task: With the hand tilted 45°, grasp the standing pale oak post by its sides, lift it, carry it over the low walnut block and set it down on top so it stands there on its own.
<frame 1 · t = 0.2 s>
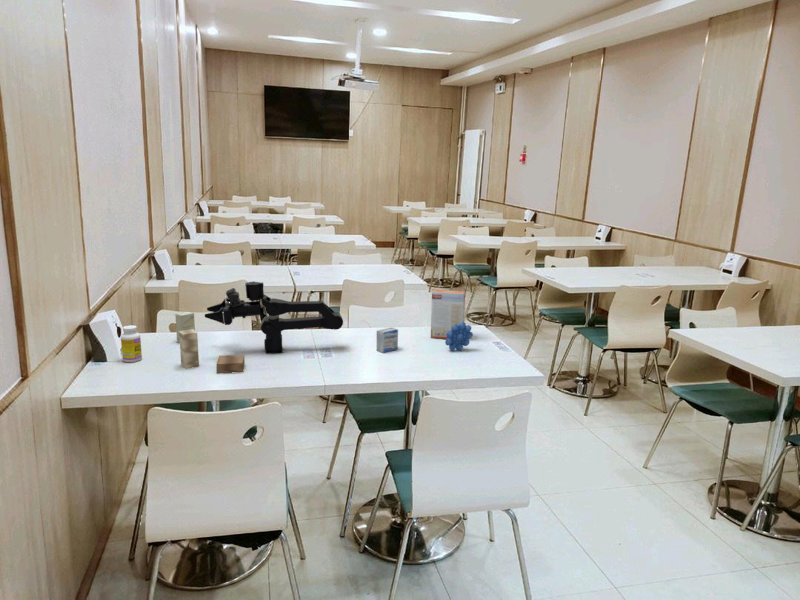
hand: (205, 312, 226), 17 cm above the table, tool horizontal, fingers open, 9 cm apart
skincare box: (186, 342, 243), on the table
oak post: (190, 365, 216), on the table
walnut block: (231, 369, 214), on the table
medicine box: (387, 350, 239), on the table
supplement bottle: (132, 360, 220), on the table
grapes: (457, 350, 242), on the table
cracker box: (447, 338, 258), on the table
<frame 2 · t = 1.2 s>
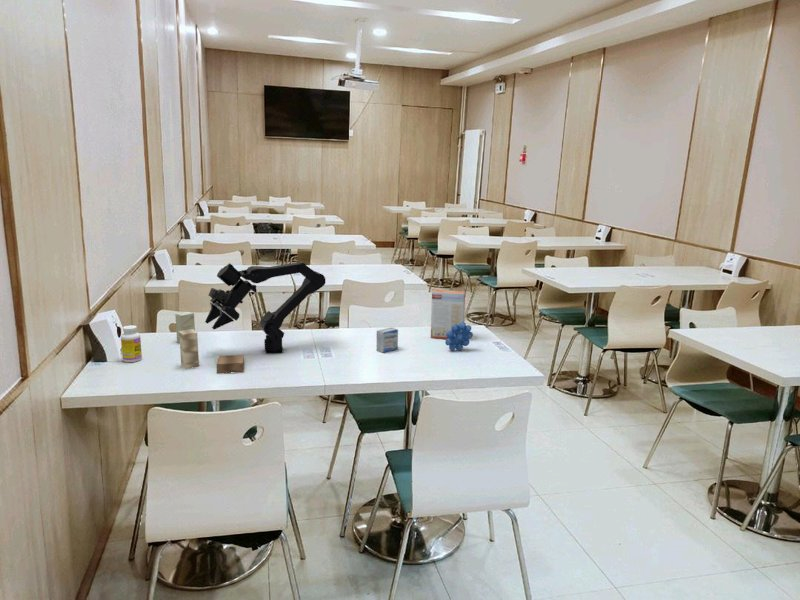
hand: (209, 325, 219), 14 cm above the table, tool tilted 45°, fingers open, 9 cm apart
nothing on the table moved.
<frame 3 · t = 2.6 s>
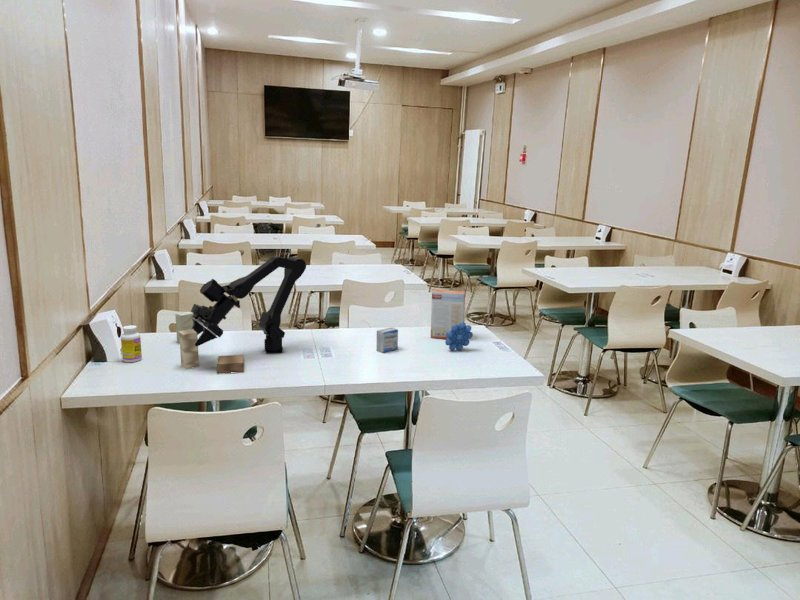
hand: (191, 342, 214), 9 cm above the table, tool tilted 45°, fingers open, 9 cm apart
nothing on the table moved.
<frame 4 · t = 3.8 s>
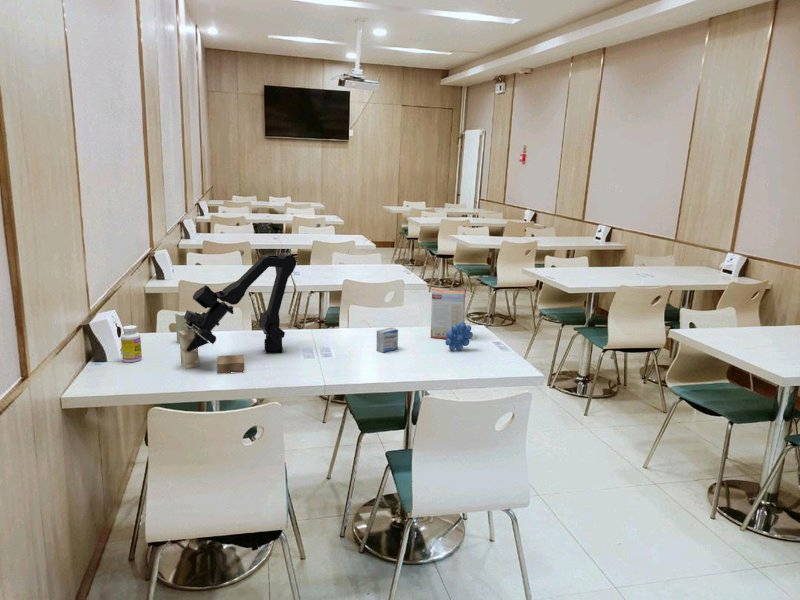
hand: (185, 349, 213), 7 cm above the table, tool tilted 45°, fingers closed on oak post, 5 cm apart
oak post: (190, 365, 216), on the table, touching gripper
everything else where it was.
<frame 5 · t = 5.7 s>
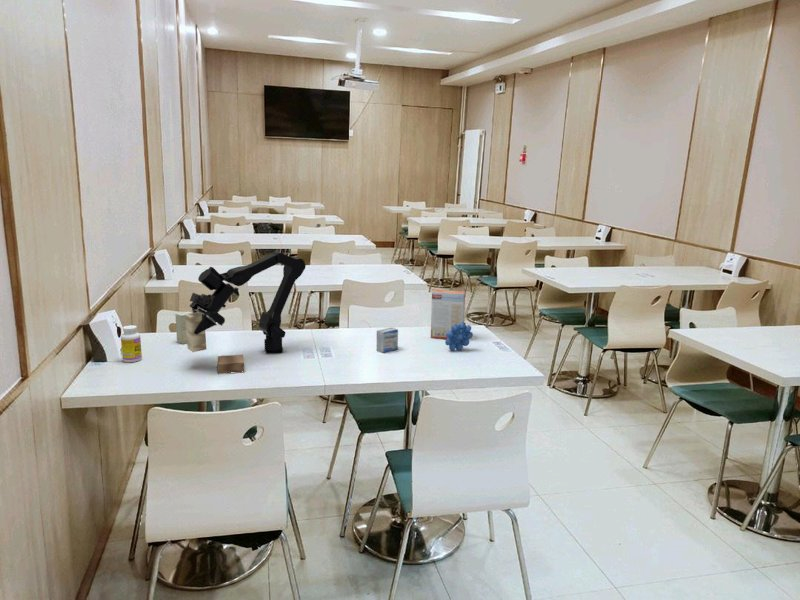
hand: (192, 332, 211), 14 cm above the table, tool tilted 45°, fingers closed on oak post, 5 cm apart
oak post: (197, 349, 213), point 7 cm above the table, touching gripper
everything else where it was.
when the fingers open (11 cm above the table, at t = 7.6 s): oak post drops 1 cm, resting on walnut block.
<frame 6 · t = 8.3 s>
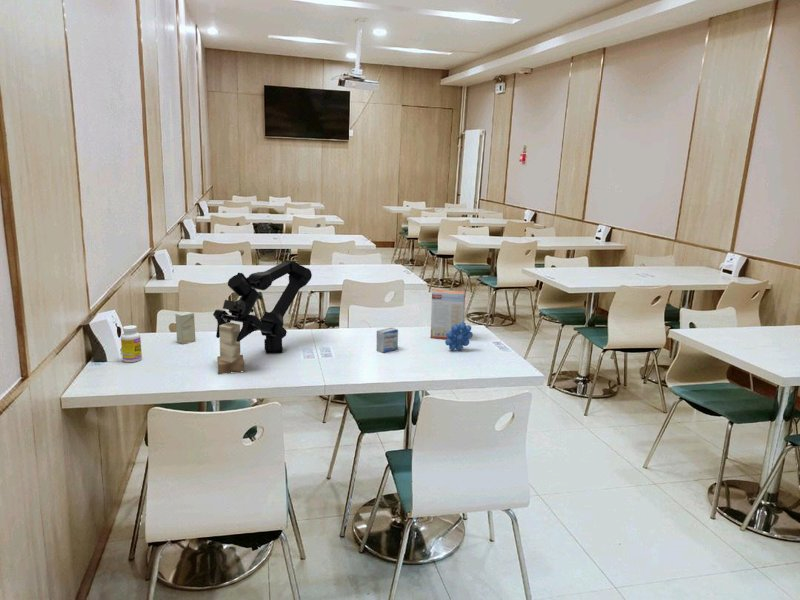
hand: (227, 339, 210), 12 cm above the table, tool tilted 45°, fingers open, 9 cm apart
oak post: (230, 359, 213), point 4 cm above the table, touching walnut block
walnut block: (231, 369, 214), on the table, touching oak post
everything else where it was.
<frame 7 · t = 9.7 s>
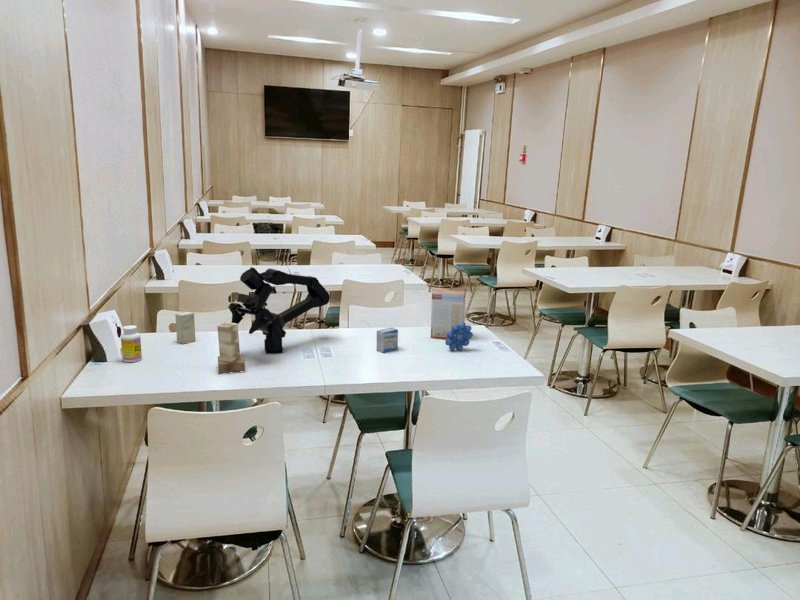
hand: (240, 331, 218), 12 cm above the table, tool tilted 45°, fingers open, 9 cm apart
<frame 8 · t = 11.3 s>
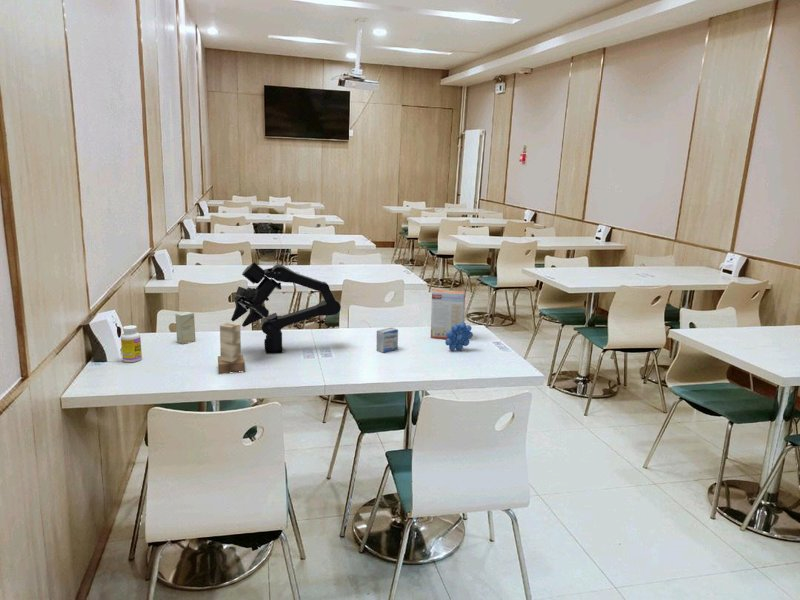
hand: (237, 323, 223), 14 cm above the table, tool tilted 45°, fingers open, 9 cm apart
oak post: (230, 359, 213), point 4 cm above the table
walnut block: (231, 369, 214), on the table
everything else where it was.
at the end: oak post 0.4 cm from the walnut block (horizontally); oak post touching walnut block; oak post tilted 2° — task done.
